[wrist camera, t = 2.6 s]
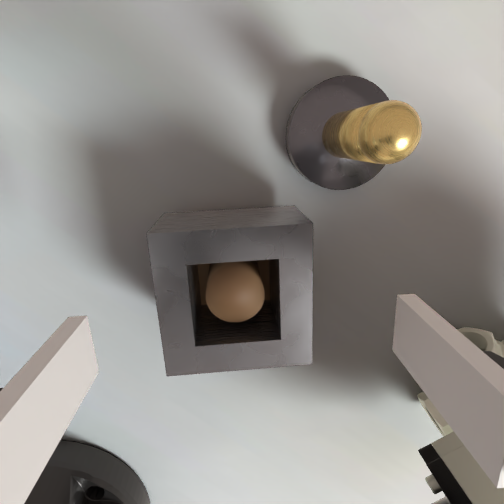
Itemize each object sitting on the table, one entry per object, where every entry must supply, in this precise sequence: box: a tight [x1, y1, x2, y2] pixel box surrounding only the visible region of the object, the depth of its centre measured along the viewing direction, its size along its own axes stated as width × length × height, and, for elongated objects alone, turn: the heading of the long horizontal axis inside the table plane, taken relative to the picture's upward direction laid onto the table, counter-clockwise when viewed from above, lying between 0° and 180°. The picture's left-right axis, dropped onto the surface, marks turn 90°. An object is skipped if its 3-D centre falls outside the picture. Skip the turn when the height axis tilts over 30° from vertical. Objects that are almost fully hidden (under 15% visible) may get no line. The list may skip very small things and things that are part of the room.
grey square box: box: [146, 205, 313, 376], centre depth 20 cm, size 8×8×5 cm
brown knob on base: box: [197, 260, 270, 322], centre depth 22 cm, size 6×6×6 cm
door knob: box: [286, 76, 422, 190], centre depth 18 cm, size 6×6×9 cm
